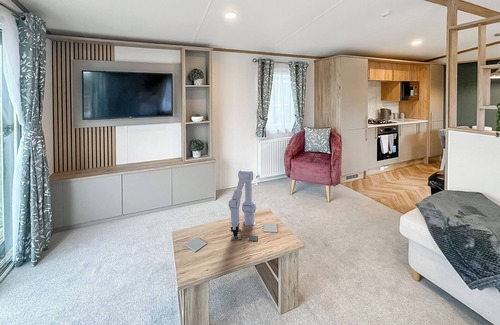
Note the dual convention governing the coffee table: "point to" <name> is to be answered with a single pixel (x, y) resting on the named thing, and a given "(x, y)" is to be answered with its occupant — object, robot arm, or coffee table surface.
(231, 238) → the stand
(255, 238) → the mat
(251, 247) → the coffee table surface
